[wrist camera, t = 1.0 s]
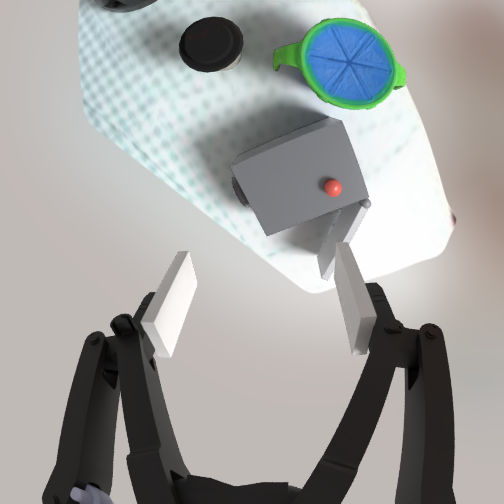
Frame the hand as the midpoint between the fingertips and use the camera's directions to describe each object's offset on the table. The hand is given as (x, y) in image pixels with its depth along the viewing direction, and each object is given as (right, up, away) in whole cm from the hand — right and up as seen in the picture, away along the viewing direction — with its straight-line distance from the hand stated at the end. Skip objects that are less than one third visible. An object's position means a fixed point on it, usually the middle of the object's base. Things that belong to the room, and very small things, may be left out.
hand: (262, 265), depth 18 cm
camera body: (+6, +13, +19) cm, 24 cm away
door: (+13, +5, +23) cm, 26 cm away
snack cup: (+10, +25, +12) cm, 29 cm away
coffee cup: (-4, +27, +12) cm, 30 cm away
